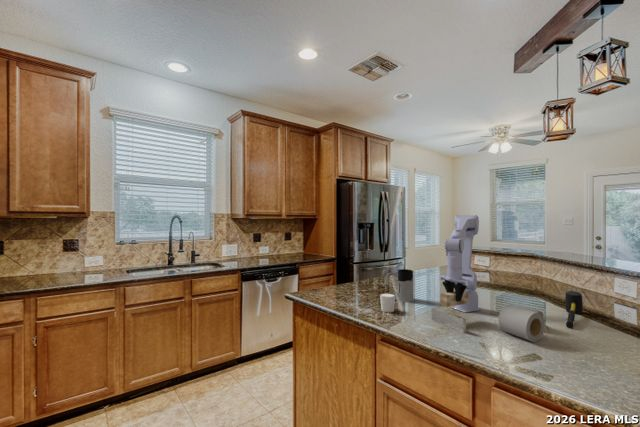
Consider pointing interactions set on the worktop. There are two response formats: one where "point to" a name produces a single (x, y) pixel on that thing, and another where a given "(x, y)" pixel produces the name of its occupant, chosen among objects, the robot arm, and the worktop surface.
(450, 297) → the maple rail
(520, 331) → the toilet paper
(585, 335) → the worktop surface
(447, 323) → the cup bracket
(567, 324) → the mallet
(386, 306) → the shot glass
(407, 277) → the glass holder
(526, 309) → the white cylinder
